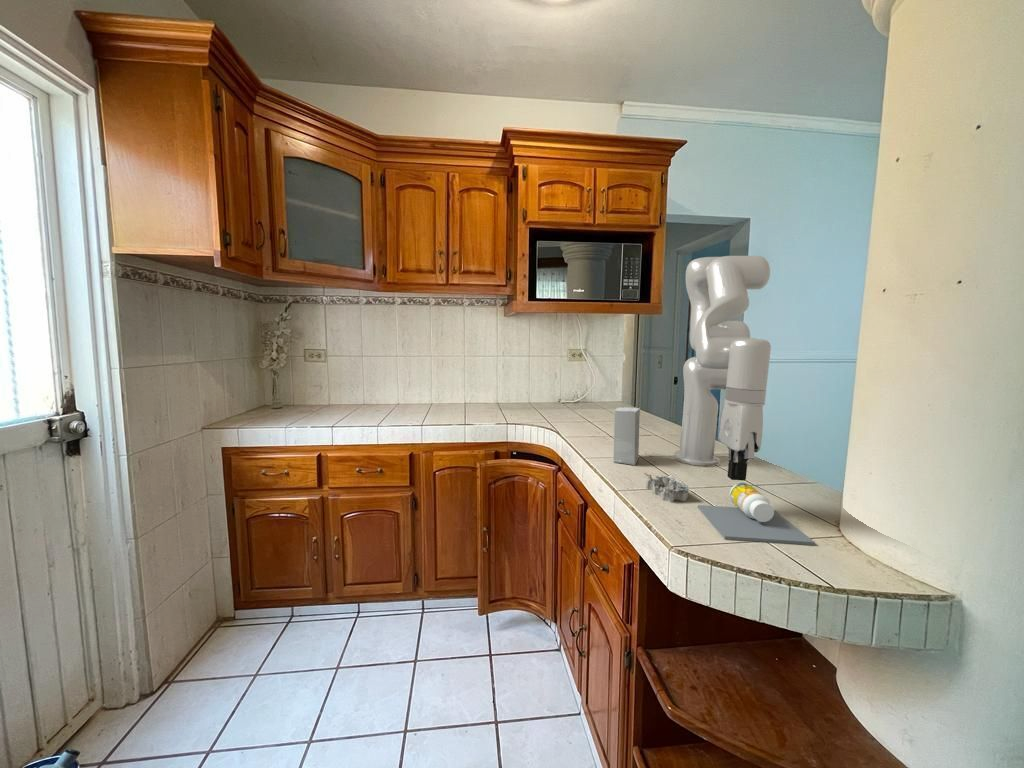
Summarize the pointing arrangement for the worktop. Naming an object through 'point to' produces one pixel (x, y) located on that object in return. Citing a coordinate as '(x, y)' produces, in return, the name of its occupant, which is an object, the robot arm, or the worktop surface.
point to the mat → (753, 526)
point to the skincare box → (626, 435)
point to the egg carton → (667, 488)
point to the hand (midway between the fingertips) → (736, 478)
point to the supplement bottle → (751, 502)
